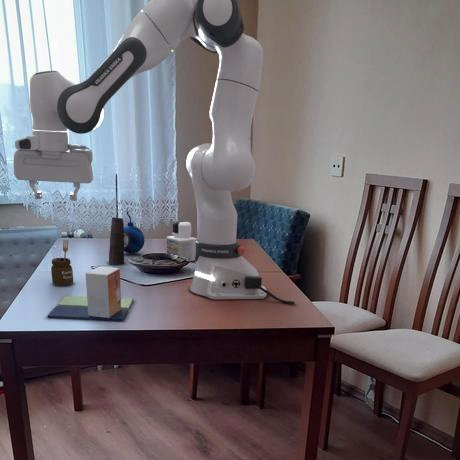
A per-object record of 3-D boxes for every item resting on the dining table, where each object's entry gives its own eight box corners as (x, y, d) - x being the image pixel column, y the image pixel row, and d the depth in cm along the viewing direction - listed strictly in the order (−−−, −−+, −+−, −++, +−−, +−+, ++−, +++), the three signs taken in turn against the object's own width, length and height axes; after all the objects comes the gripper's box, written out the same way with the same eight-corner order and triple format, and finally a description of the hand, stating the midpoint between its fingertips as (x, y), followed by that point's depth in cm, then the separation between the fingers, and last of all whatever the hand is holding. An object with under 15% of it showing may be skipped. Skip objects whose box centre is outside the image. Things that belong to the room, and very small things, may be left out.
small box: (109, 318, 133) (107, 275, 128) (87, 316, 134) (84, 272, 129) (122, 309, 140) (120, 267, 135) (101, 307, 141) (98, 265, 136)
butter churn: (125, 268, 181) (122, 176, 169) (98, 265, 183) (93, 174, 170) (135, 262, 190) (133, 174, 177) (108, 260, 191) (104, 172, 178)
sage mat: (132, 301, 149) (132, 298, 149) (128, 309, 142) (128, 307, 142) (65, 297, 149) (65, 295, 148) (57, 306, 141) (57, 304, 141)
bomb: (110, 254, 199) (108, 210, 192) (127, 249, 208) (125, 207, 202) (134, 257, 196) (132, 213, 189) (149, 252, 205) (149, 210, 198)
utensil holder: (48, 285, 159) (43, 242, 153) (60, 280, 164) (57, 238, 159) (66, 287, 157) (62, 244, 152) (78, 282, 163) (75, 240, 157)
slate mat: (127, 311, 141) (127, 309, 141) (122, 321, 134) (122, 319, 133) (56, 308, 140) (56, 306, 140) (47, 318, 133) (47, 315, 133)
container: (166, 258, 198) (166, 220, 192) (182, 256, 203) (183, 219, 197) (180, 262, 193) (180, 224, 187) (196, 260, 198) (197, 222, 192)
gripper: (94, 145, 147) (97, 200, 154) (16, 140, 146) (22, 196, 153) (89, 146, 142) (92, 203, 148) (8, 141, 141) (14, 199, 147)
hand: (56, 199), depth 150 cm, fingers open, 8 cm apart
